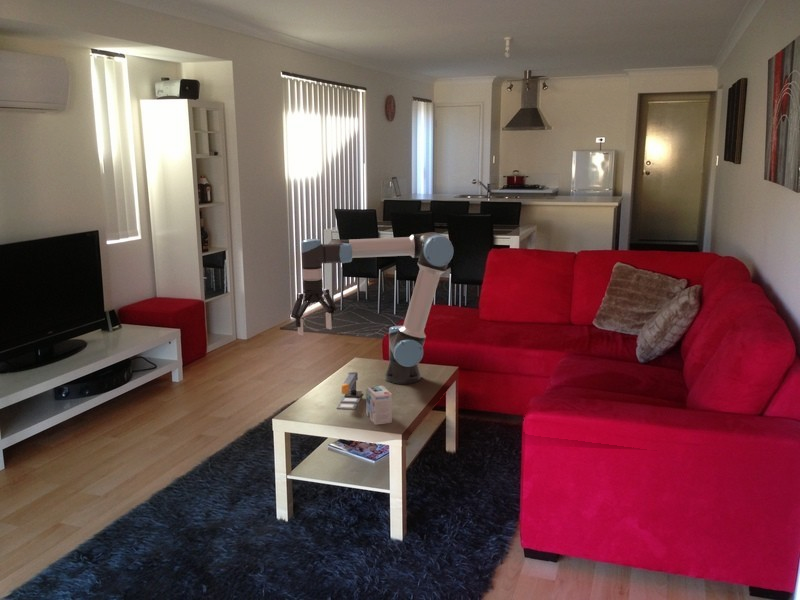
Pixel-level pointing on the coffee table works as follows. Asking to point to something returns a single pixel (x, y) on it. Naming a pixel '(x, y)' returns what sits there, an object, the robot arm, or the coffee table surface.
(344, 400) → the label
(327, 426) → the coffee table surface
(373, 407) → the light bulb box
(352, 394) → the post
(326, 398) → the coffee table surface
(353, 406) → the label
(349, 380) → the cable arm
